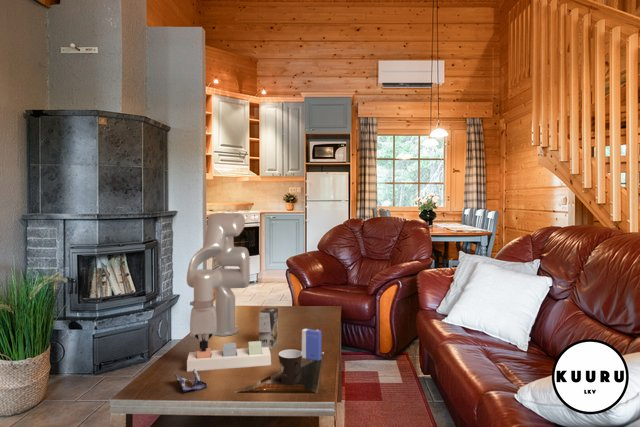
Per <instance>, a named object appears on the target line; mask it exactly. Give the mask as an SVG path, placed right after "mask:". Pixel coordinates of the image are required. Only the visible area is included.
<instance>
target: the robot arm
mask: <svg viewBox="0 0 640 427" xmlns="http://www.w3.org/2000/svg"><path fill="white" fill-rule="evenodd" d="M245 226H246V219H245V216H244V214H242V213H235V212H234V213H233V212H231V213H230V212H229V213H228V212H219V213H218V212H217V213H211V214H209V215H208V216H207V226H206V230H205V236H204V242H203V247H202V248H200V249H199V250H198V251H197V252H196V253H195V254H194V255H193V256H192V258H191V259H190V261H189V264H188V268H187V272H186V284H187V286H188V287H189V288H192V289H193V300H192V301H190V302H189V306H192V307H191V311H190V317H189V318H190V320H189V337H192V338H196V339H197V340H198V342H199V348H200V349H202V351H206V348H209V343H208V342H209V339H211V338H212V337H214V336H217V337H228V336H229V337H230V336H234V335H236V334H238V333H239V327H236V296H235V294H234V292H233V291H232V289H245V288H246V289H247V288H248V287H249V285H250V280H251V278H250V277H251V276H250V275H251V274H250V271H251V270H250V253H249V250H248V248H247V247H245V246H244V247H243V246H235V245H234V244H235V243H234V240H235V239H234V237H238V236H240V234H241V233H242V232H243V231H244V228H245ZM214 257H216V258H215V259H216V263H217V265H218V266H220V267H238V268H219V269H207V268H204V269H203V268H200V269H199V266H200V265H201V264H202V263H203V262H206V261H208V260H210V259H212V258H214ZM214 294H215V295H214ZM214 296H215V300H214ZM214 301H215V303H214ZM214 304H215V306H214ZM203 335H205V338H203Z"/></svg>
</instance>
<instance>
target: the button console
mask: <svg viewBox="0 0 640 427" xmlns="http://www.w3.org/2000/svg"><path fill="white" fill-rule="evenodd" d="M271 354H272V353H271V349H269V347H262V354H255V355H249V354H248V347H246V348H236V356H226V357H223V349H217V350H211V358H198V359H197V351H189V352H188V356H187V360H186V373H187V372H193V370H194V369H195V370H196V371H197V372H198V371H201V372H202V371H212V370H225V369H237V368H238V369H239V368H240V369H241V368H251V367H262V366H263V367H265V366H272V355H271ZM190 370H191V371H190Z"/></svg>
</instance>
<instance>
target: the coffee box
mask: <svg viewBox="0 0 640 427" xmlns="http://www.w3.org/2000/svg"><path fill="white" fill-rule="evenodd" d="M278 323H279V308H278V307H264V308H263V309H262V310H260V311H259V312H258V341H261V345H262V347H269V350H273V348H275V346H277V344H278V343H279V324H278Z"/></svg>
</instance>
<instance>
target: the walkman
mask: <svg viewBox="0 0 640 427" xmlns="http://www.w3.org/2000/svg"><path fill="white" fill-rule="evenodd" d="M301 352H302V359H305V360H312V361H320V360H321V359H322V330H320V329H311V328H303V329H302V330H301Z"/></svg>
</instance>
